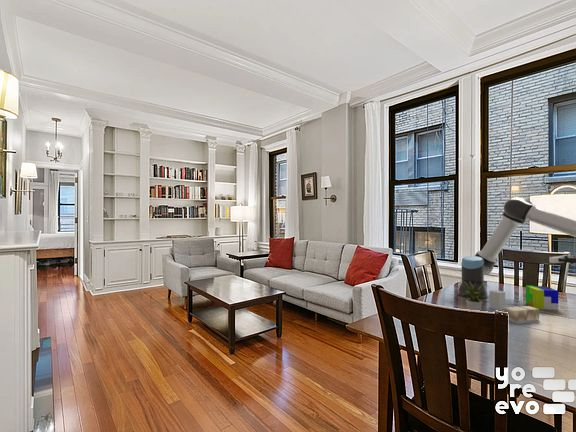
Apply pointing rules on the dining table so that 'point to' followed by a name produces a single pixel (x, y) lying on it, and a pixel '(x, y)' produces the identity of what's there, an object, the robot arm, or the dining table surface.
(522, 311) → the maple block
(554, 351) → the dining table surface
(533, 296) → the puzzle toy
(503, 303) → the grey block
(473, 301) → the house plant
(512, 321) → the felt mat
